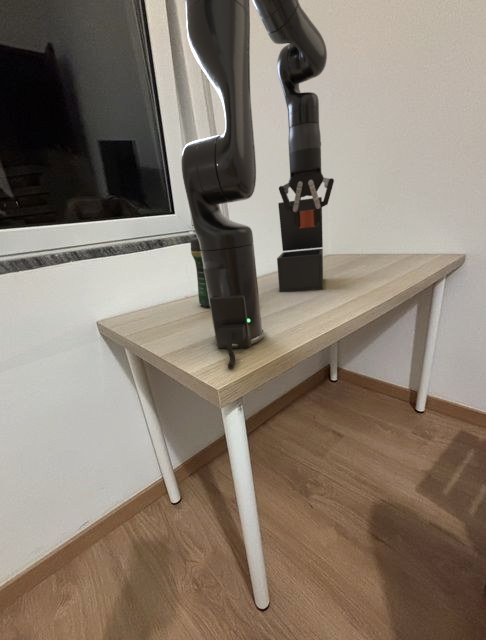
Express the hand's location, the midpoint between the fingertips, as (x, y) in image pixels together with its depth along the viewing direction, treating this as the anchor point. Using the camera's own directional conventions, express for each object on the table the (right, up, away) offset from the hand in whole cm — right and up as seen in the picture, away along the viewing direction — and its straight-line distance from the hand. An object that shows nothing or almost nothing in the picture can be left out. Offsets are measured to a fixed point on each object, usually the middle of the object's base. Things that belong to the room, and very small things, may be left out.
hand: (307, 225), depth 80 cm
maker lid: (+1, +6, +14) cm, 15 cm away
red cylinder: (0, 0, 0) cm, 0 cm away
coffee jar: (-24, -19, +8) cm, 32 cm away
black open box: (+2, -12, +16) cm, 20 cm away
